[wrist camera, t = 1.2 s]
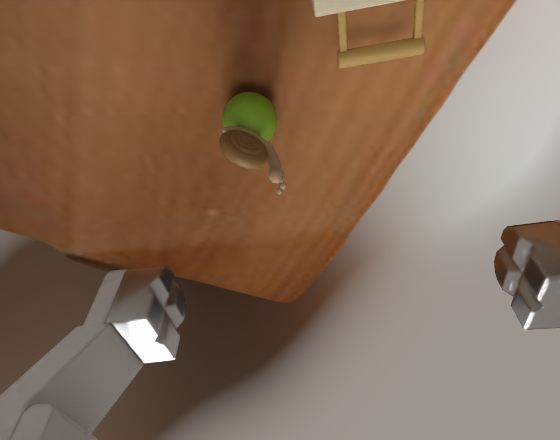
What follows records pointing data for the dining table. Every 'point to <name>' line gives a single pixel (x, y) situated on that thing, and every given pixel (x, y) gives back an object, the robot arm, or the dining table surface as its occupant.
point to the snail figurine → (251, 134)
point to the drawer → (331, 3)
